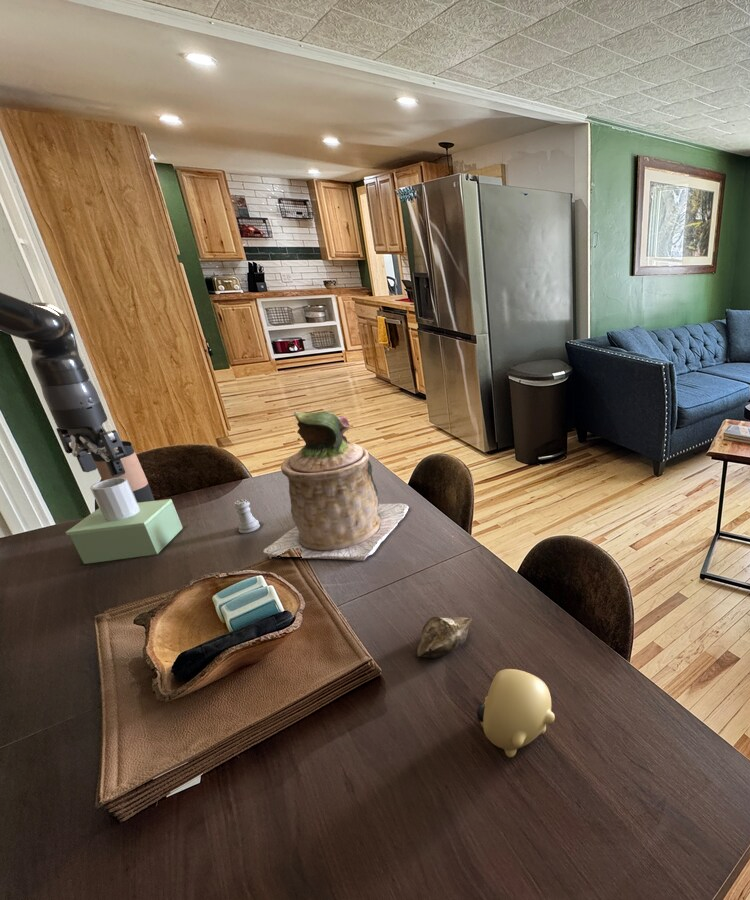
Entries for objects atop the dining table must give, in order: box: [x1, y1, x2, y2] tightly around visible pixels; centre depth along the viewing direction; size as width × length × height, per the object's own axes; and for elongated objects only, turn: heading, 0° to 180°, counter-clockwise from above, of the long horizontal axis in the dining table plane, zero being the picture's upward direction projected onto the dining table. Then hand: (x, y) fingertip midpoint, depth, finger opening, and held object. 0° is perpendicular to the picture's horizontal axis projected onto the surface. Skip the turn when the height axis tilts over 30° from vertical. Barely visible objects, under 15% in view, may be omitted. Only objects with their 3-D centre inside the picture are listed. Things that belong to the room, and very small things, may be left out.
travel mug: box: [89, 440, 156, 503], centre depth 120 cm, size 8×8×20 cm
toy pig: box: [476, 668, 556, 758], centre depth 67 cm, size 10×12×11 cm
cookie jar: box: [263, 410, 410, 562], centre depth 111 cm, size 25×25×32 cm
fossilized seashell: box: [416, 616, 473, 659], centre depth 83 cm, size 8×7×10 cm
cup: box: [90, 478, 140, 521], centre depth 107 cm, size 6×6×8 cm
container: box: [69, 501, 184, 565], centre depth 110 cm, size 14×12×8 cm
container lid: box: [65, 498, 173, 536], centre depth 109 cm, size 14×12×1 cm
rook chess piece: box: [233, 498, 261, 534], centre depth 117 cm, size 4×4×8 cm
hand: (104, 473), depth 105 cm, fingers open, 8 cm apart
